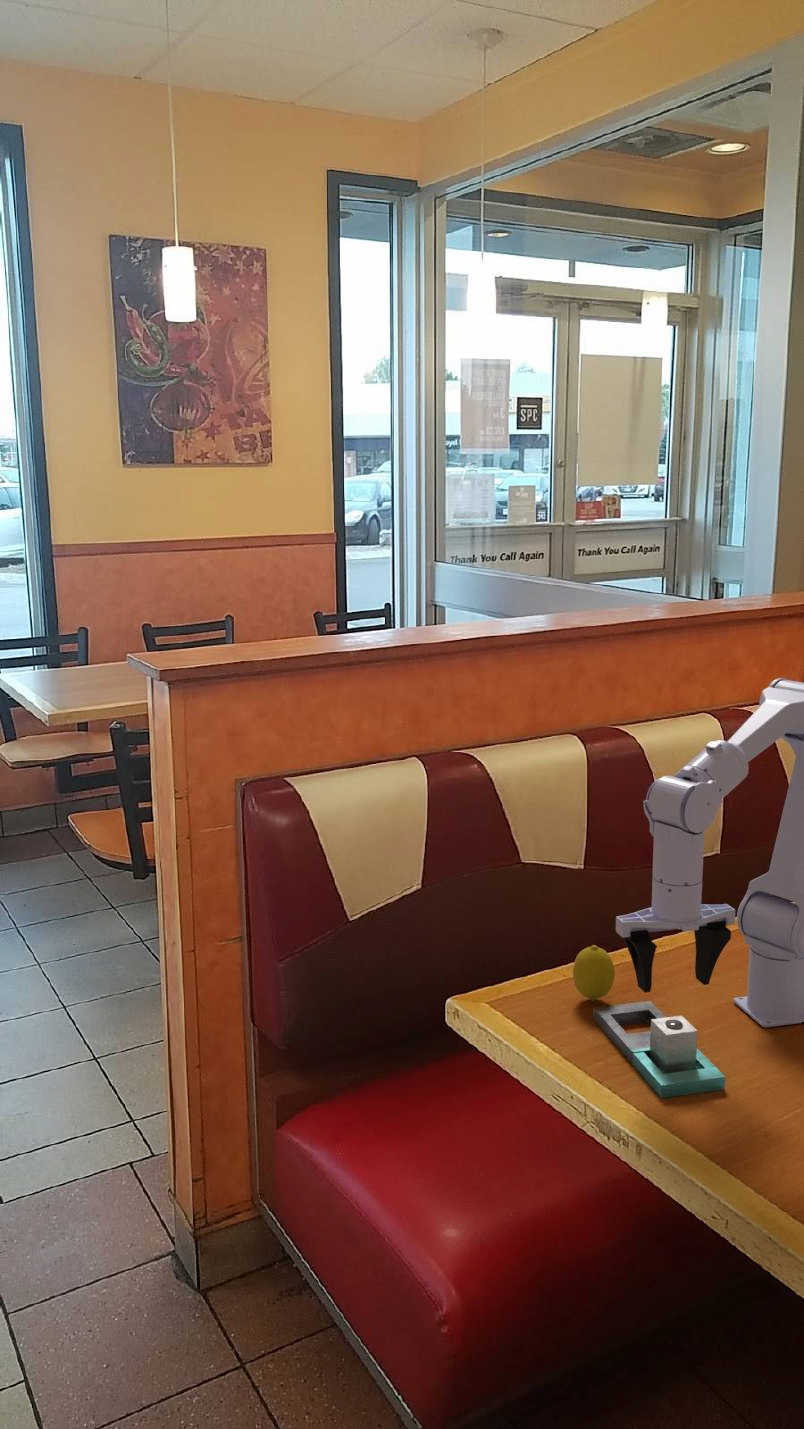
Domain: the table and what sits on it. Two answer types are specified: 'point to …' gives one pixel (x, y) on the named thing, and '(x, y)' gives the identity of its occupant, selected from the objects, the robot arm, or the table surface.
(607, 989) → the lemon
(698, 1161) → the table surface
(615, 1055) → the table surface
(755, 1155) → the table surface
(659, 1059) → the domed white cube
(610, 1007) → the teal silver rectangular frame
